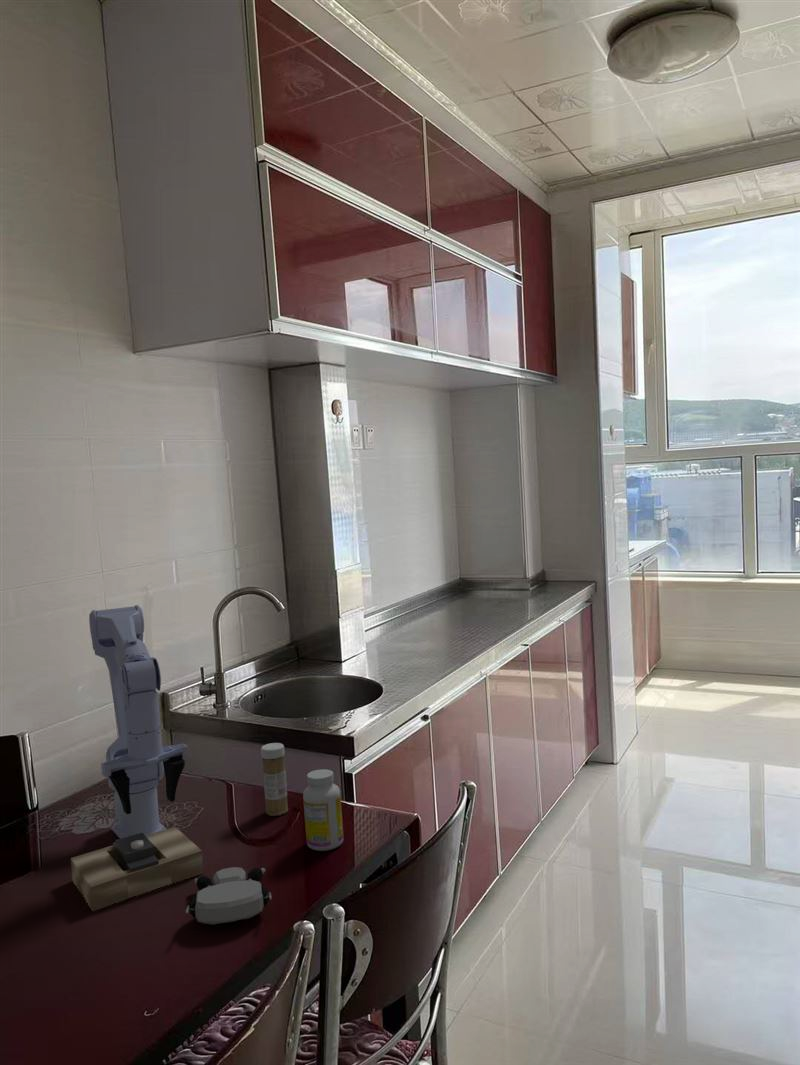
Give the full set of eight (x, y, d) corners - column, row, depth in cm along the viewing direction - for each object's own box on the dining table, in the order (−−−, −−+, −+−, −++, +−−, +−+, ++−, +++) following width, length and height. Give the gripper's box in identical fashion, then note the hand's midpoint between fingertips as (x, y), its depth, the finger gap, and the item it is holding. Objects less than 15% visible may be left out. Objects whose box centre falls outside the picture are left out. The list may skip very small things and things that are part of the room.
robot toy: (192, 897, 127) (187, 940, 112) (190, 868, 127) (184, 908, 112) (269, 884, 129) (273, 925, 115) (267, 856, 130) (271, 894, 115)
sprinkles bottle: (281, 805, 160) (276, 740, 159) (292, 812, 156) (288, 745, 155) (261, 812, 157) (256, 746, 156) (272, 819, 153) (268, 751, 153)
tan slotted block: (72, 880, 133) (70, 858, 132) (176, 847, 143) (174, 826, 143) (92, 911, 122) (90, 887, 122) (203, 873, 133) (201, 850, 132)
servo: (115, 868, 136) (111, 830, 136) (141, 860, 139) (138, 823, 138) (132, 896, 126) (129, 855, 126) (160, 887, 129) (157, 847, 128)
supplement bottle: (332, 832, 146) (328, 764, 145) (350, 844, 140) (346, 773, 139) (300, 843, 142) (295, 773, 141) (317, 856, 136) (312, 783, 136)
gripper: (107, 744, 129) (113, 825, 130) (192, 725, 138) (197, 800, 139) (95, 735, 135) (101, 812, 136) (178, 717, 144) (183, 789, 144)
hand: (149, 806), depth 138 cm, fingers open, 7 cm apart
